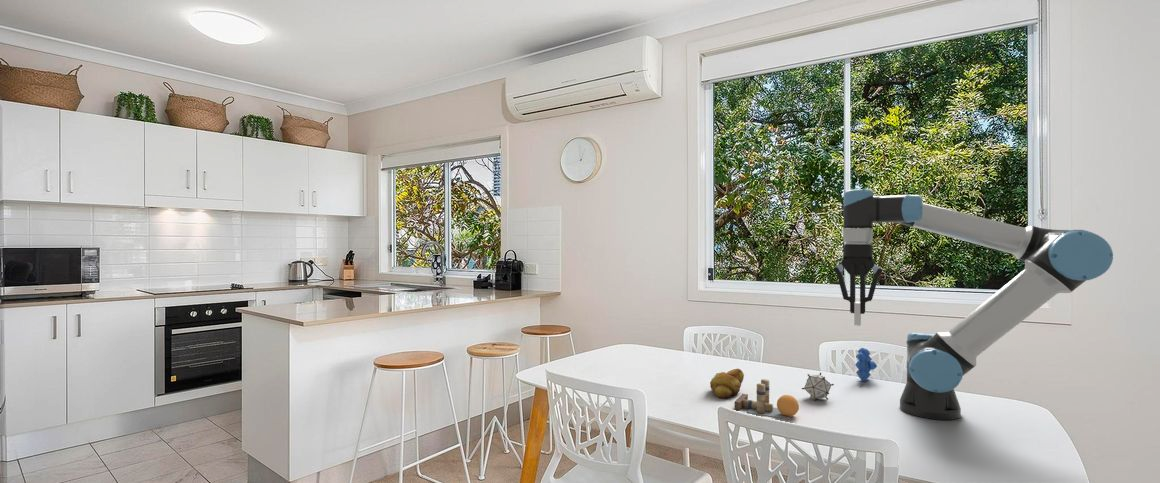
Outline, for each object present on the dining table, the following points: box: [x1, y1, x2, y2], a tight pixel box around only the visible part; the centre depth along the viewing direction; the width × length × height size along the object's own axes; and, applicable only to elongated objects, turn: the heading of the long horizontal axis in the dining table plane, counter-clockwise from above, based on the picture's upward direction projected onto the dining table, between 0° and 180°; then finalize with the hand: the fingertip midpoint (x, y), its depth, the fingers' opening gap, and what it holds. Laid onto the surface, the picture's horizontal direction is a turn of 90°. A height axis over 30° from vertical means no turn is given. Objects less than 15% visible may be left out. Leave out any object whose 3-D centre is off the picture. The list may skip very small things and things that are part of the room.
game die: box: [801, 372, 835, 402], centre depth 172 cm, size 9×8×10 cm
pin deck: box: [746, 406, 793, 421], centre depth 161 cm, size 12×8×1 cm, turn 58°
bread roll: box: [709, 368, 745, 399], centre depth 179 cm, size 13×10×8 cm
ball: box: [776, 394, 800, 417], centre depth 157 cm, size 6×6×6 cm
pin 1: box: [755, 382, 765, 414], centre depth 160 cm, size 2×2×8 cm
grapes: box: [854, 347, 878, 382], centre depth 191 cm, size 12×7×12 cm, turn 139°
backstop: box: [734, 393, 749, 412], centre depth 166 cm, size 2×9×2 cm, turn 148°
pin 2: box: [760, 378, 770, 404], centre depth 164 cm, size 2×2×8 cm
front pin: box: [742, 399, 774, 412], centre depth 163 cm, size 2×2×8 cm
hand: (857, 324), depth 157 cm, fingers closed
